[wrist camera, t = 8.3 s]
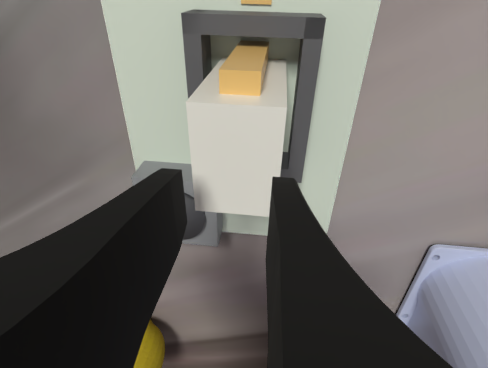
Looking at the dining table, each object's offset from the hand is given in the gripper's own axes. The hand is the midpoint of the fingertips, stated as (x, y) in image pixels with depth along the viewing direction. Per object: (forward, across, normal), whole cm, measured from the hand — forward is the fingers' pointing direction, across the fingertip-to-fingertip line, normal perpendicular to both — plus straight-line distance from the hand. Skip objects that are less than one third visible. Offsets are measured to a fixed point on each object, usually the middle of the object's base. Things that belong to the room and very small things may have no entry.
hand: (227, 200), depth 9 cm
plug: (+9, 0, 0) cm, 9 cm away
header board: (+10, +1, +2) cm, 10 cm away
